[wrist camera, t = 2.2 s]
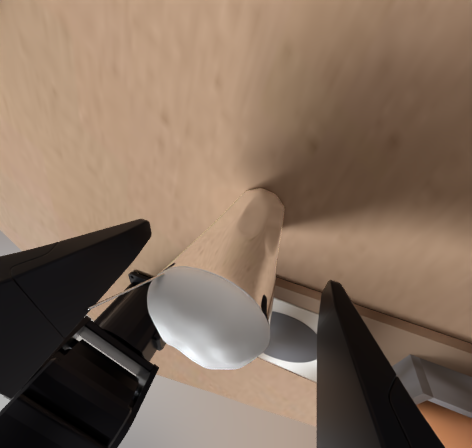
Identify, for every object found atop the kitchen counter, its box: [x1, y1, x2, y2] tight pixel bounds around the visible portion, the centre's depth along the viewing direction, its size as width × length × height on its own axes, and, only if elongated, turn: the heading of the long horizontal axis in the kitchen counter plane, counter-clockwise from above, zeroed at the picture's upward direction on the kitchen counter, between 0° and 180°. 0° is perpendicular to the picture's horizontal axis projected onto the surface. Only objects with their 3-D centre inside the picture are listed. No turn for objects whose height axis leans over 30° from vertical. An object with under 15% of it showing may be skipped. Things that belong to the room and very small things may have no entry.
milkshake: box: [83, 188, 285, 370], centre depth 9 cm, size 4×5×10 cm
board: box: [257, 277, 472, 418], centre depth 17 cm, size 22×13×3 cm, turn 84°
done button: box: [417, 400, 472, 448], centre depth 14 cm, size 4×4×3 cm
